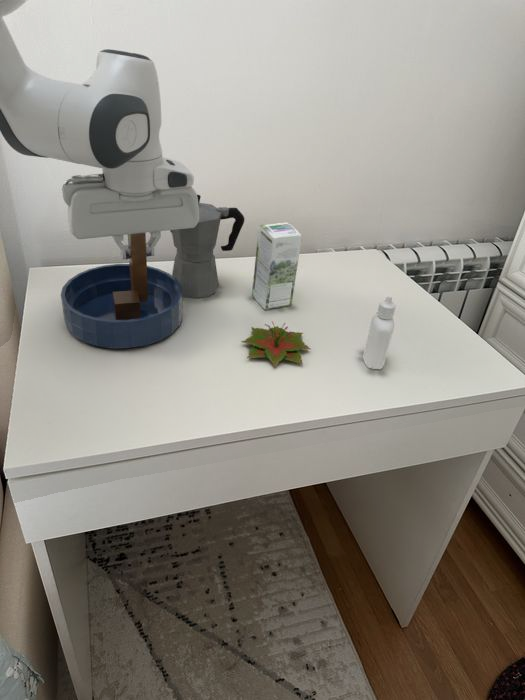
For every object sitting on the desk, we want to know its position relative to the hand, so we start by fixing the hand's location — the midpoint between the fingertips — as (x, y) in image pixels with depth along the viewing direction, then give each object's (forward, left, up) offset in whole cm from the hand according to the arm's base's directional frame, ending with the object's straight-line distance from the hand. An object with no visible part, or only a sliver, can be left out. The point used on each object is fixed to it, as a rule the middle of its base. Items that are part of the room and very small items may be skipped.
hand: (137, 256), depth 88 cm
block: (-3, -3, -10) cm, 10 cm away
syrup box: (+24, -4, -10) cm, 26 cm away
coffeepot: (+13, +5, -10) cm, 17 cm away
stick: (0, 0, -8) cm, 8 cm away
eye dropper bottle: (+32, -26, -10) cm, 42 cm away
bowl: (-3, -2, -10) cm, 11 cm away
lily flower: (+18, -18, -10) cm, 27 cm away
